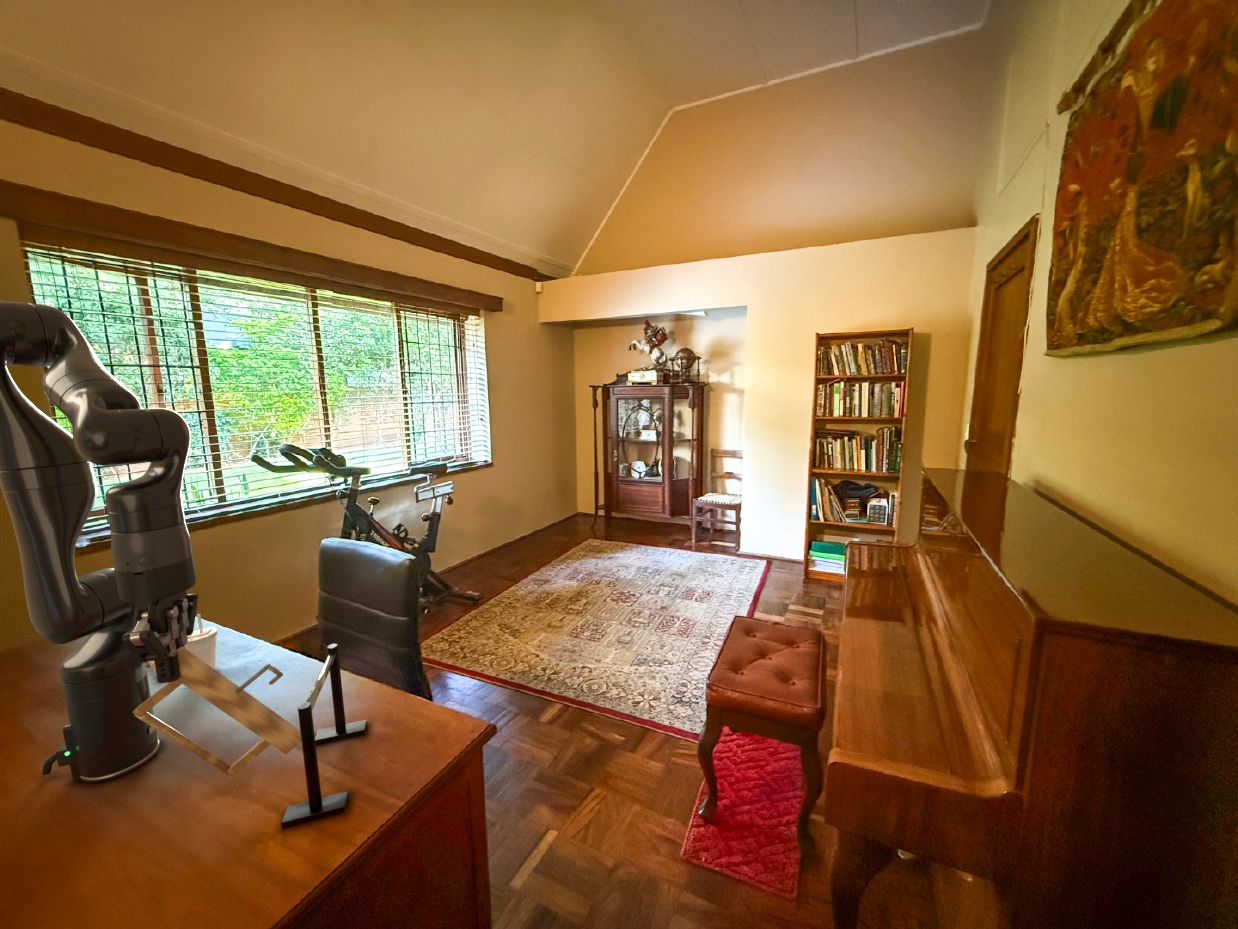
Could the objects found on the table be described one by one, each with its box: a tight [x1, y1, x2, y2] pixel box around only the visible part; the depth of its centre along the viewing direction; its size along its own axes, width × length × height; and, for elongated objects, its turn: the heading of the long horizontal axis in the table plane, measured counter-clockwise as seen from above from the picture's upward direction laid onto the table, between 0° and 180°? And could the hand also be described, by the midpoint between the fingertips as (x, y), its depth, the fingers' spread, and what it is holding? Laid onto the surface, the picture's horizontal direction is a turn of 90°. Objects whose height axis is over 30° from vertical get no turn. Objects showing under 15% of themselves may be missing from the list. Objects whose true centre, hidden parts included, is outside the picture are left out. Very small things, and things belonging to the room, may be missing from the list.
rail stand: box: [280, 643, 368, 830], centre depth 76 cm, size 8×20×18 cm, turn 20°
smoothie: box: [185, 613, 219, 670], centre depth 103 cm, size 6×6×14 cm
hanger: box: [132, 646, 302, 777], centre depth 68 cm, size 22×1×15 cm
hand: (173, 676), depth 65 cm, fingers closed on hanger, 1 cm apart
